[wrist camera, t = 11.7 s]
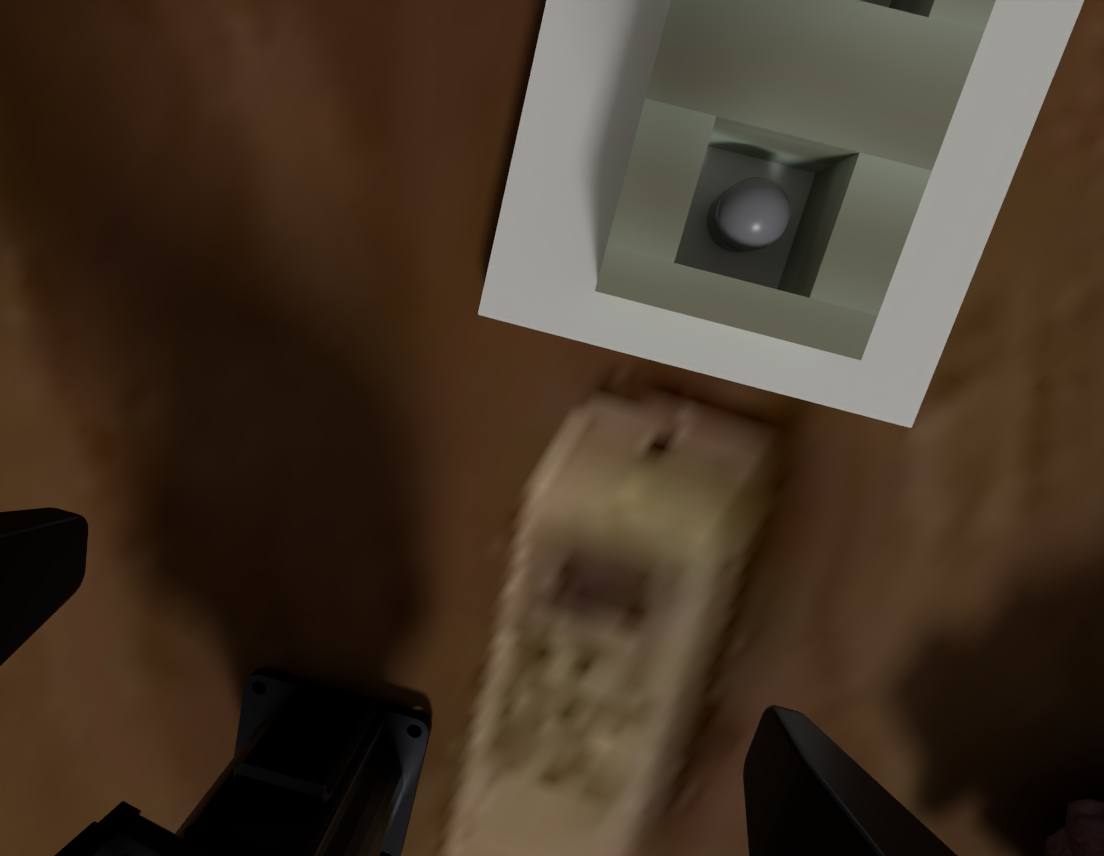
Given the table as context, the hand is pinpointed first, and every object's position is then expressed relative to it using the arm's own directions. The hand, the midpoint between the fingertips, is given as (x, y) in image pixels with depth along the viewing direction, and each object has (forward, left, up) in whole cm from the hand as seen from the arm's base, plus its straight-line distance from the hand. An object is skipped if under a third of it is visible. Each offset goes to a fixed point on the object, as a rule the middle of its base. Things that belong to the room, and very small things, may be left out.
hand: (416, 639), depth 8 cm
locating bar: (+10, -4, -10) cm, 15 cm away
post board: (+10, -4, -12) cm, 16 cm away
